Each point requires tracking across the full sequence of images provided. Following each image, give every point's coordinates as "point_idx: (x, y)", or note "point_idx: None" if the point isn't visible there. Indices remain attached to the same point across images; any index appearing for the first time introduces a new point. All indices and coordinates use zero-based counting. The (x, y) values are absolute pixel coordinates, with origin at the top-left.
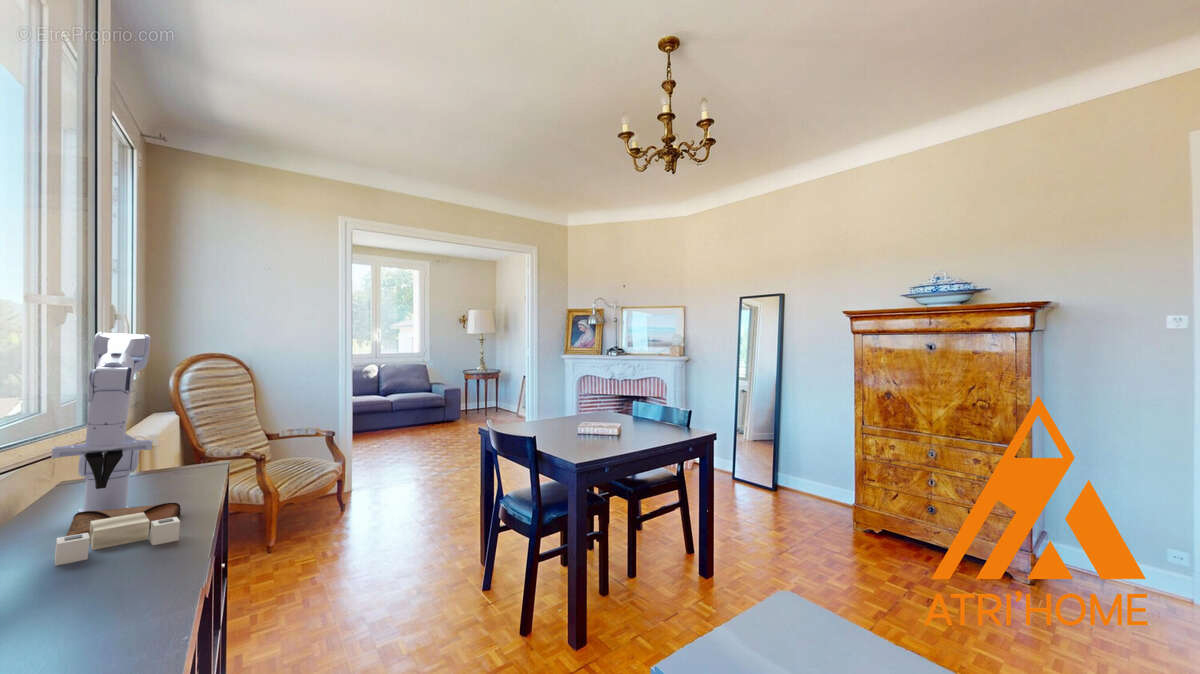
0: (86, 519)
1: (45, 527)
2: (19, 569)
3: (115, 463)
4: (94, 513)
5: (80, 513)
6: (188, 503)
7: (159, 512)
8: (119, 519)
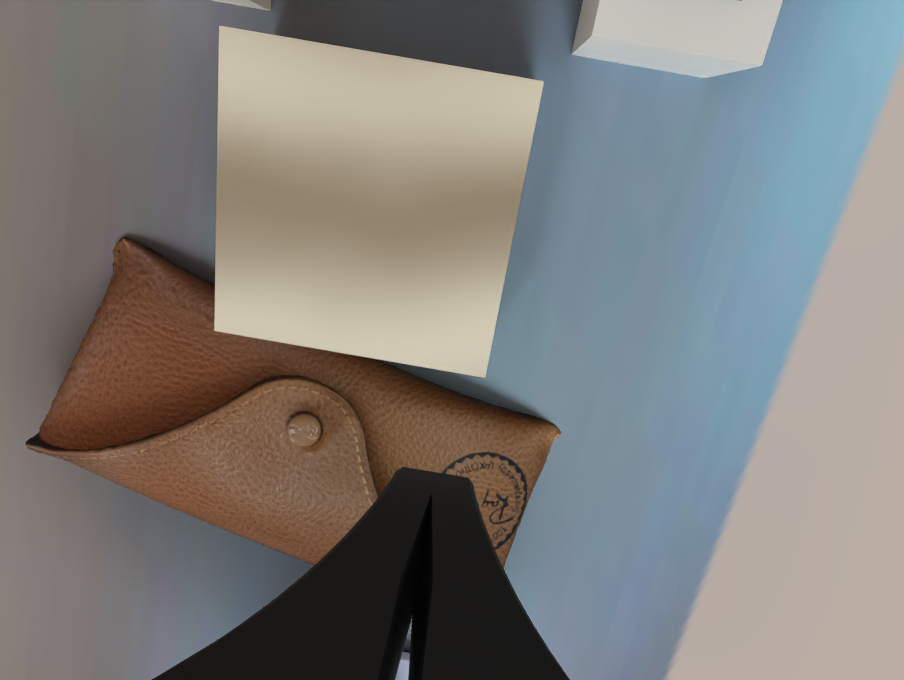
0: None
1: None
2: (871, 27)
3: (216, 660)
4: None
5: None
6: (15, 590)
7: (141, 385)
8: (359, 266)
